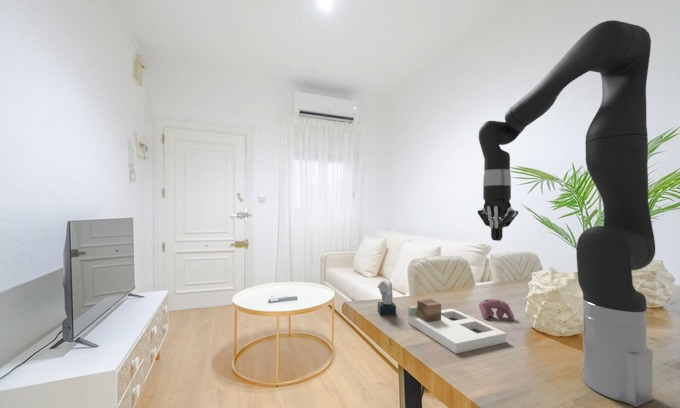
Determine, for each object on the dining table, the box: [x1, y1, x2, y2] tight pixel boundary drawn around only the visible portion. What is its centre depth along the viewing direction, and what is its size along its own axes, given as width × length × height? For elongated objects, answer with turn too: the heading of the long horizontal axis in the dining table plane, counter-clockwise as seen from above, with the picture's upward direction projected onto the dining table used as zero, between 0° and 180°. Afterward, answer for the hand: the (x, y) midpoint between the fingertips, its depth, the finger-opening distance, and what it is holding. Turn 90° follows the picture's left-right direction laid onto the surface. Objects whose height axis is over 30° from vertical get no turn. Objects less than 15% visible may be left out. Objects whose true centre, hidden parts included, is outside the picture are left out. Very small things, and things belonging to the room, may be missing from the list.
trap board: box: [407, 305, 507, 354], centre depth 82 cm, size 20×18×5 cm
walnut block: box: [416, 298, 442, 322], centre depth 86 cm, size 5×5×5 cm
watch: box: [377, 279, 397, 316], centre depth 97 cm, size 6×8×11 cm
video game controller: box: [478, 298, 515, 322], centre depth 94 cm, size 10×5×7 cm, turn 85°
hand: (496, 240), depth 86 cm, fingers closed
